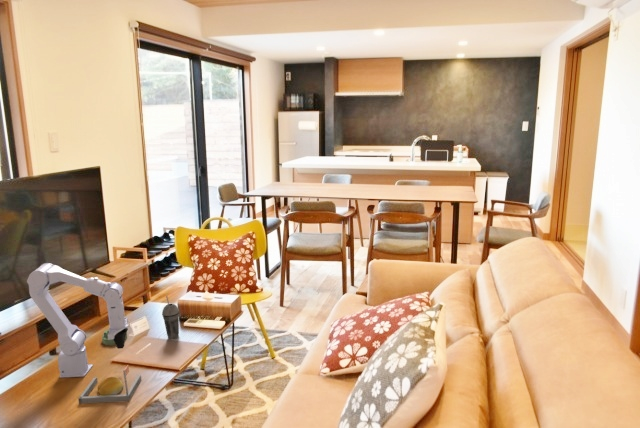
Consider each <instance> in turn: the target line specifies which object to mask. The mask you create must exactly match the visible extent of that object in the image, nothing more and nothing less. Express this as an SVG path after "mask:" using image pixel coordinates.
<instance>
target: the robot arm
mask: <svg viewBox="0 0 640 428" xmlns="http://www.w3.org/2000/svg"><path fill="white" fill-rule="evenodd" d="M59 282H62V283H66V284H69V285H73V286H76V287H80V288H83V290H84V292H85V293H88V294H90V295H94V296H97V297H99V298H103V300H104V301H105V302H106V309H107V315H108V324H109V325H108V326H109V327H108V329H109V333H108V339H113V340H114V342H115V346H116V348H117V349H118V350H119V349H124V347H125V342H126V340H125V336H126V333H127V334H128V330H129V329H128V328H129V327H130V324H129V323H128V322H129V318H128V317H126V315H125V314H126V313H125V307H124V300H123V293H124V287H123V286H122V285H121V284H120V283H119V282H117V281H116V282H111V281H105V280H101V279H100V278H99V277H97V276H94V277H92V276H91V277H89V278H85V277H84V276H81V275H79V274H77V273H73V272H72V271H68V270H66V269H63V268H62V267H61V266H59V265H58V264H57V265H56V264H53V263H49V262H45V263H42V264H40V266H39V267H37V268H36V269H35V270H33V271H32V272H31V273H29V275H28V278H27V280H26V283H27V285H28V291H29V292H28V293H29V296H30V298H31V299H32V300H33V302H34V304H36V306H37V308H39V310H40V312H42V314H43V315H44V316H45V318H46V320H47V321H48V323H50V325H51V327H52V328H53V329H54V330H55V332H56V333H57V342H58V343H59V346H60V350H61V351H60V352H59V353H58V357H57V363H58V364H57V365H58V372H59V378H60V379H62V378H76V377H77V378H78V377H79V378H80V377H81V378H82V377H85V376H86V375H87V374H88V373H89V371H90V370H91V369H92V368H93V367H94V364H89V362H88V356H87V355H88V354H87V349H86V346H85V342H86V340H87V334H86V332H85V331H84V330H83V329H81V328H80V327H78V326H77V325H76V324H72V323H71V321H70V320H69V319H68V317H67V316H66V315H65V313H64V312H63V311H62V309H61V308H60V306H59V305H58V303H57V302H56V301H55V299H54V297H52V295H51V293H50V292H49V288H50V285H52V284H56V283H59Z"/></svg>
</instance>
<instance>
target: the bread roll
mask: <svg viewBox="0 0 640 428" xmlns="http://www.w3.org/2000/svg"><path fill="white" fill-rule="evenodd" d="M123 389H124V382H122V380H121V379H120V378H118V377H114V376H113V377H112V376H110V377H107V378H105V379H102V380H101V381H100V382H99V384H98V386H97V391H98V394H99V396H105V395H119V393H121V391H123Z"/></svg>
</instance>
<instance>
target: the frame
mask: <svg viewBox="0 0 640 428" xmlns="http://www.w3.org/2000/svg"><path fill="white" fill-rule="evenodd" d="M129 372H130V369H129V364H127V366H125V369H123V377H124V378H123V379H124V388H125V394H116V395H105V396H101V395H91V396H90V393H91V392H92V390H93V389H94V388H95V387H96V385H97V384H98V382H99V381H98V377H97V376H96V377H93V378H92V380H91V381H90V382H89V383H88V385H87V386H86V387H85V389H84V390H83V392H82V393H81V394H80V395H79V397H78V404H80V405H81V404H99V403H118V402H120V403H122V402H130V400H131V399H132V397H133V396H134V393H135V392H136V390H137V388H138V387H139V385H140V384H141V381H142V376H141V374H138V375H136V378H135V380H134V381H133V383H132V385H131V386H130V388H129V389H128V382H127V375H128V373H129Z"/></svg>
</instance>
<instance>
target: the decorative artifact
mask: <svg viewBox="0 0 640 428" xmlns="http://www.w3.org/2000/svg"><path fill="white" fill-rule="evenodd" d="M108 333H109V328H108V329H105V330H104V331H103V334H102V335H101V339H102V344H103V345H106V346H116V344H115V342H114V340H113V339H108ZM127 339H128V332H127V333H126V336H125V341H127Z"/></svg>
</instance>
